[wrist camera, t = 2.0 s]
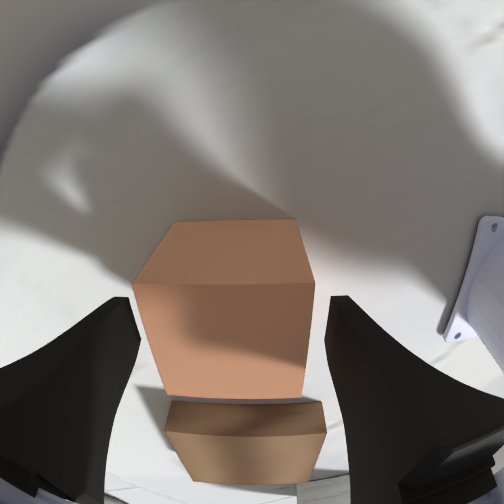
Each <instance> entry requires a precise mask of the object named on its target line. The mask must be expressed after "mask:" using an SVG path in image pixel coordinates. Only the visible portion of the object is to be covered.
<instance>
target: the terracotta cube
mask: <svg viewBox="0 0 504 504" xmlns="http://www.w3.org/2000/svg"><path fill="white" fill-rule="evenodd" d="M132 287H133V291H134V295H135V299H136V302H137V306H138V309H139V313H140V316H141V320H142V323H143V326H144V330H145V333H146V336H147V339H148V342H149V345H150V349H151V352H152V355H153V357H154V360H155V363H156V366H157V369H158V372H159V375H160V377H161V380H162V383H163V385H164V388H165V391H166V393H167V395H175V396H187V397H202V398H224V399H279V398H301V396H302V389H303V383H304V376H305V369H306V361H307V354H308V346H309V338H310V329H311V320H312V311H313V301H314V291H315V280H314V277H313V274H312V270H311V267H310V264H309V261H308V257H307V254H306V251H305V248H304V245H303V242H302V239H301V235H300V232H299V229H298V226H297V223H296V220H295V219H249V220H210V221H182V222H174V223H173V225H172V226H171V227H170V229H169V230H168V231H167V233H166V234H165V236H164V237H163V238H162V240H161V241H160V243H159V244H158V246H157V247H156V248H155V250H154V251H153V253H152V254H151V256H150V257H149V259H148V260H147V262H146V263H145V264H144V266H143V267H142V269H141V270H140V272H139V273H138V275H137V276H136V278H135V279H134V281H133V283H132Z"/></svg>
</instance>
